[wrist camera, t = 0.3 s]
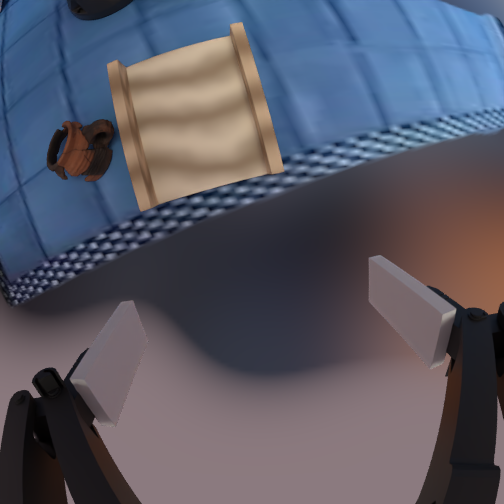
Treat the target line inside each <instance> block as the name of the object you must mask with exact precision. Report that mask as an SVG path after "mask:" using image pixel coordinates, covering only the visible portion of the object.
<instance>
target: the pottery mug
mask: <svg viewBox="0 0 504 504" xmlns="http://www.w3.org/2000/svg"><path fill="white" fill-rule="evenodd" d="M62 127H63V128H64V129H63V130H62V131H61V130H59V129H57V130H56V132H55V133H54V135H53V137H52V139H51V142H50V145H49V149H48V153H47V166H48V168H49V170H51V171H53V172H54V171H55V172H56V174H57V175H58V176H59V177H61V178H62V179H63V180H67V179H68V178H67V176H66V175H65V172H64V168H65V169H66V171H68V173H69V174H70V175H71V176H79V175H80V174H82V175H89V176H88V177H86V178H85V181H96V180H98V179H99V178H100V177H101V176H102V175H103V174H104V173H105V171H106V170H107V168H108V166H109V164H110V161H111V157H112V150H111V149H109V148H108V147H107V146H108V145H109V141H110V140H111V139H112V137H113V134H114V127H113V125H112V122H110V121H108V120H104V119H101V120H97V121H95V122H93V123H92V124H91V125H87V126H84V127H83V129H82V131H81V130H80V128H82V125H81V124H80V123H78V122H72V123H71V122H70V121H65V122H64V123H63V124H62ZM67 135H68V137H67V142H66V145H65V148H64V151H63V153H62V155H61V157H60V158H59V160H58V162H57V154H58V152H59V149H60V145H61V143H62V141H63V140H64V138H65V137H66V136H67ZM89 144H93V147H94V149H88V148H89Z"/></svg>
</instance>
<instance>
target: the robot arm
mask: <svg viewBox="0 0 504 504" xmlns="http://www.w3.org/2000/svg"><path fill="white" fill-rule="evenodd" d="M131 1H133V0H67V3H68V7H69V9H70V11H71V12H72V13H73V14H74V15H75V16H77V17H78V18H80V19H83V20H94V19H99V18H102V17H105V16H108V15H110V14H112V13H114V12H116V11H118V10H120V9H122V8H123V7H125V6H126V5H127V4H129V3H130V2H131ZM369 302H370V303H371V304H372V305H373V306H374V307H375V309H376V310H377V311H378V312H379V313H380V314H381V315H382V316H383V317H384V318H385V319H386V320H387V321H388V323H389V324H390V325H391V326H392V327H393V328H394V329H395V330H396V331H397V332H398V334H399V335H400V336H401V337H402V338H403V339H404V340H405V341H406V343H407V344H408V345H409V346H410V347H411V348H412V349H413V350H414V352H415V353H416V354H417V355H418V356H419V357H420V358H421V360H422V361H423V362H424V363H425V364H426V365H427V366H428V368H429V369H432V368H435V367H437V366H439V365H441V364H443V362H444V359H445V356H446V352H447V353H448V354H449V355H450V356H451V360H450V363H449V366H448V370H447V372H446V375H445V376H448V381H447V389H446V395H445V402H444V408H443V414H442V419H441V423H440V428H439V432H438V437H437V441H436V445H435V449H434V452H433V456H432V460H431V463H430V466H429V470H428V473H427V476H426V479H425V482H424V485H423V487H422V490H421V493H420V495H419V498H418V500H417V502H416V504H495V501H496V497H497V491H498V487H499V481H500V468H499V466H496V465H494V454H495V445H496V432H497V395H498V399H499V403H500V406H501V410H502V415H503V419H504V302H502V304H500V307H499V310H498V313H496V314H491V315H488V313H486V312H485V311H484V310H482V309H479V308H468V309H465V308H463V307H462V306H461V305H459V304H458V303H457V302H455V301H454V300H452V299H451V298H449V297H448V296H447V295H444V293H443V292H441V291H440V290H438V289H436V288H433V287H430V286H425V285H423V284H422V283H421V282H419V281H418V280H416V279H415V278H413V277H412V276H411V275H409V274H408V273H406V272H405V271H403V270H402V269H400V268H399V267H398V266H396V265H395V264H393V263H391V262H390V261H389V260H387V259H386V258H384V257H383V256H381V255H379V256H375V257H370V258H369ZM148 342H149V341H148V339H147V336H146V334H145V331H144V329H143V326H142V324H141V321H140V318H139V316H138V313H137V310H136V307H135V305H134V302H133V301H125V302H121V303H120V305H119V306H118V307H117V309H116V310H115V312H114V313H113V314H112V316H111V317H110V319H109V320H108V321H107V323H106V324H105V326H104V327H103V329H102V330H101V331H100V333H99V335H98V336H97V337H96V339H95V341H94V342H93V343H92V345H91V346H90V348H87V349H86V350H85V351H84V352H83V353H82V354H81V355H80V356H79V358H78V359H77V361H76V362H75V364H74V365H73V368H71V370H70V372H69V373H68V374H67V376H66V378H65V379H64V381H63V380H62V379H61V377H60V375H59V374H58V372H57V371H56V369H55V368H45V369H43V370H41V371H40V372H38V373H37V374H36V375H35V376H34V378H33V380H32V383H33V385H34V387H35V388H36V390H37V391H38V393H39V394H40V395H41V397H39V398H33V397H32V395H31V394H30V393H29V391H27V390H21V391H18V392H16V393H15V394H14V395H13V397H12V398H11V399H10V402H9V406H8V410H7V415H6V420H5V425H4V431H3V436H2V443H1V450H0V504H68V502H67V496H66V489H65V481H66V483H67V486H68V488H69V491H70V493H71V496H72V498H73V500H74V502H75V504H142V503H141V502H140V501H139V499H138V498H137V497H136V495H135V494H134V492H133V491H132V489H131V488H130V486H129V485H128V483H127V482H126V480H125V479H124V477H123V475H122V474H121V472H120V471H119V469H118V467H117V466H116V464H115V462H114V461H113V459H112V457H111V455H110V454H109V452H108V450H107V448H106V446H105V445H104V443H103V441H102V439H101V437H100V435H99V433H98V431H97V429H96V427H95V426H94V425H93V424H92V423H93V420H94V418H96V419H97V420H98V422H99V423H100V424H101V425H102V426H111V427H116V426H117V423H118V420H119V417H120V414H121V411H122V409H123V406H124V403H125V400H126V398H127V395H128V392H129V390H130V387H131V384H132V382H133V379H134V376H135V374H136V371H137V369H138V366H139V364H140V361H141V359H142V356H143V354H144V351H145V349H146V346H147V344H148ZM34 437H35V438H34ZM64 478H65V481H64Z"/></svg>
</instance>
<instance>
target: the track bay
mask: <svg viewBox="0 0 504 504" xmlns="http://www.w3.org/2000/svg"><path fill="white" fill-rule="evenodd" d="M107 69H108V75H109V81H110V87H111V93H112V99H113V104H114V109H115V114H116V119H117V124H118V128H119V133H120V137H121V141H122V146H123V150H124V154H125V158H126V162H127V166H128V170H129V173H130V177H131V181H132V184H133V188H134V191H135V195H136V198H137V202H138V205H139V208H140V212H141V211H144V210H147V209H150V208H153V207H155V206H157V205H158V204H161V203H164V202H168V201H171V200H174V199H177V198H181V197H184V196H187V195H191V194H194V193H197V192H201V191H204V190H208V189H211V188H215V187H219V186H222V185H226V184H230V183H234V182H237V181H241V180H245V179H249V178H253V177H257V176H261V175H265V174H276V173H280V172H284V168H283V164H282V160H281V155H280V151H279V148H278V144H277V140H276V136H275V132H274V128H273V124H272V121H271V117H270V113H269V110H268V106H267V102H266V99H265V95H264V92H263V88H262V85H261V81H260V78H259V75H258V71H257V68H256V65H255V61H254V58H253V55H252V52H251V49H250V45H249V42H248V39H247V36H246V33H245V30H244V27H243V24H242V22H240V23H234V24H230V36H226V37H222V38H217V39H213V40H209V41H205V42H201V43H197V44H193V45H190V46H186V47H183V48H179V49H176V50H173V51H170V52H167V53H164V54H161V55H158V56H155V57H152V58H149V59H147V60H144V61H141V62H139V63H136V64H134V65H131V66H129V67H125V66H124V65H123V64H121V63H120V62H119V61H118V60H115V61H113V62H111V63H108V64H107Z"/></svg>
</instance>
